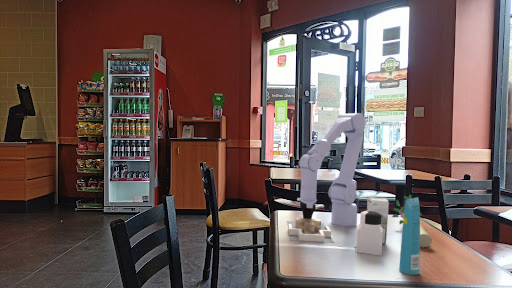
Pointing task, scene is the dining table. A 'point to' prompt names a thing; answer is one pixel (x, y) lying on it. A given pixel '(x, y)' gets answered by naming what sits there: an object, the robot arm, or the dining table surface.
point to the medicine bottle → (370, 233)
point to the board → (295, 237)
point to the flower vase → (424, 236)
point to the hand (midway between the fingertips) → (306, 223)
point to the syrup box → (382, 208)
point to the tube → (410, 238)
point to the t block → (308, 225)
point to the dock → (310, 236)
